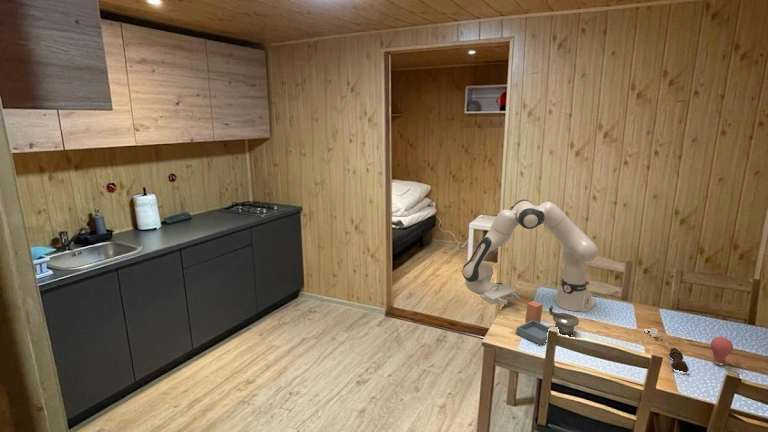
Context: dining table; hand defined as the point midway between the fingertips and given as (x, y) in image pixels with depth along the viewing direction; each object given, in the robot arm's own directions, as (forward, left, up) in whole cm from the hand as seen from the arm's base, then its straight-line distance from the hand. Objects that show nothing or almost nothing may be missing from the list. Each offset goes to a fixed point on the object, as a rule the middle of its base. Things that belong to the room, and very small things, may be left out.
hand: (512, 300), depth 211 cm
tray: (+10, +21, -7) cm, 24 cm away
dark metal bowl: (-4, +25, -7) cm, 26 cm away
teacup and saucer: (-38, +52, -8) cm, 65 cm away
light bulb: (-33, +77, -7) cm, 84 cm away
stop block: (0, +12, -7) cm, 14 cm away
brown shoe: (-19, +67, -7) cm, 70 cm away
